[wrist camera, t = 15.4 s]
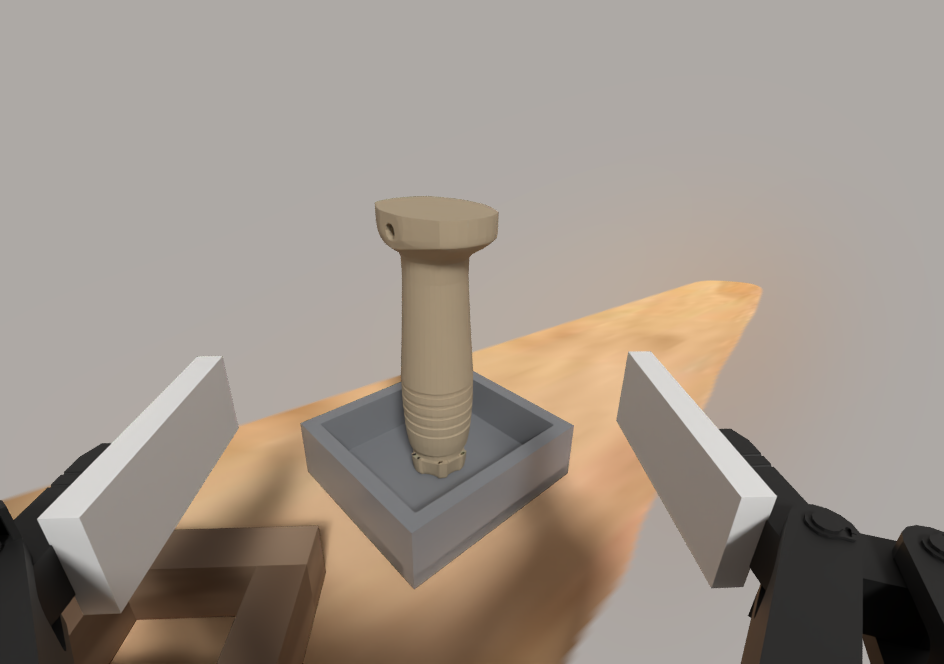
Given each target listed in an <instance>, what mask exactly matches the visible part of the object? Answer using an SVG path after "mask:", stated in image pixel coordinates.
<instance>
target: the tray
mask: <svg viewBox="0 0 944 664" xmlns="http://www.w3.org/2000/svg"><path fill="white" fill-rule="evenodd" d="M300 424H301V430H302V437H303V443H304V449H305V456H306V462H307V468H308V472H309V473H310V474H311V475H312V476H313V477H314V479H315V480H316V481H317V482H318V483H319V484H320V485H321V486H322V487H323V489H324V490H325V491H326V492H327V493H328V494H329V495H330V496H331V497H332V499H333V500H334V501H335V502H336V503H337V504H338V505H339V506H340V507H341V509H342V510H343V511H344V512H345V513H346V514H347V515H348V516H349V517H350V519H351V520H352V521H353V522H354V523H355V524H356V525H357V526H358V527H359V529H360V530H361V531H362V532H363V533H364V534H365V535H366V536H367V537H368V539H369V540H370V541H371V542H372V543H373V544H374V545H375V546H376V547H377V549H378V550H379V551H380V552H381V553H382V554H383V555H384V556H385V557H386V559H387V560H388V561H389V562H390V563H391V564H392V565H393V566H394V567H395V569H396V570H397V571H398V572H399V573H400V574H401V575H402V576H403V577H404V579H405V580H406V581H407V582H408V583H409V584H410V585H411V586H412V587H413V589H415V588H417V587H418V586H419V585H421V584H422V583H423V582H425V581H426V580H427V579H428V578H430V577H431V576H432V575H434V574H435V573H436V572H438V571H439V570H440V569H442V568H443V567H444V566H446V565H447V564H448V563H450V562H451V561H452V560H454V559H455V558H456V557H458V556H459V555H460V554H461V553H463V552H464V551H465V550H467V549H468V548H469V547H471V546H472V545H473V544H475V543H476V542H477V541H479V540H480V539H481V538H483V537H484V536H485V535H487V534H488V533H489V532H491V531H492V530H493V529H494V528H496V527H497V526H498V525H500V524H501V523H502V522H504V521H505V520H506V519H508V518H509V517H510V516H512V515H513V514H514V513H516V512H517V511H518V510H520V509H521V508H522V507H524V506H525V505H526V504H528V503H529V502H530V501H531V500H533V499H534V498H535V497H537V496H538V495H539V494H541V493H542V492H543V491H545V490H546V489H547V488H549V487H550V486H551V485H553V484H554V483H555V482H557V481H558V480H559V479H561V478H562V477H563V476H564V475H566V474H567V473H568V466H569V459H570V451H571V443H572V436H573V428H574V425H572V424H570V423H568V422H566V421H564V420H562V419H561V418H559V417H557V416H555V415H553V414H551V413H550V412H548V411H546V410H544V409H542V408H540V407H538V406H537V405H535V404H533V403H531V402H529V401H527V400H526V399H524V398H522V397H520V396H518V395H516V394H515V393H513V392H511V391H509V390H507V389H505V388H503V387H502V386H500V385H498V384H496V383H494V382H492V381H491V380H489V379H487V378H485V377H483V376H481V375H479V374H478V373H476V372H474V371H473V400H472V414H471V423H470V430H469V435H468V439H467V442H466V444H465V446H464V449H465V450H466V459H465V463H464V466H463V467H462V469H460V470H457V471H454V472H452V473H450V474H449V475H448V476H447V477H446V478H438V477H436V476H434V475H431V474H421V473H419V472H418V471H417V470H416V469H415V467H414V464H413V460H412V454H411V453H413V448H412V447H411V445H410V442H409V438H408V434H407V430H406V424H405V417H404V409H403V400H402V384H401V382H399V383H397V384H395V385H392V386H390V387H387V388H385V389H382V390H380V391H378V392H375V393H373V394H370V395H368V396H365V397H363V398H361V399H358V400H356V401H353V402H351V403H349V404H346V405H344V406H341V407H339V408H336V409H334V410H332V411H329V412H327V413H324V414H322V415H319V416H317V417H315V418H312V419H310V420H307V421H305V422H302V423H300Z"/></svg>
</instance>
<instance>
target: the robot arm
mask: <svg viewBox="0 0 944 664" xmlns="http://www.w3.org/2000/svg"><path fill="white" fill-rule="evenodd" d="M616 421H617V422H618V424H619V426H620V428H621V429H622V431H623V433H624V435H625V437H626V438H627V440H628V442H629V444H630V445H631V447H632V449H633V451H634V452H635V454H636V456H637V458H638V460H639V461H640V463H641V465H642V467H643V468H644V470H645V472H646V474H647V475H648V477H649V479H650V481H651V482H652V484H653V486H654V488H655V490H656V491H657V493H658V495H659V496H660V498H661V500H662V502H663V504H664V505H665V507H666V509H667V511H668V512H669V514H670V516H671V518H672V520H673V521H674V523H675V525H676V527H677V528H678V530H679V532H680V534H681V535H682V537H683V539H684V541H685V542H686V544H687V546H688V548H689V550H690V551H691V553H692V555H693V557H694V558H695V560H696V562H697V564H698V565H699V567H700V569H701V571H702V573H703V574H704V576H705V578H706V579H707V581H708V583H709V585H710V587H711V588H731V587H743V586H744V583H745V581H746V578H747V576H748V573H749V570H750V568H751V570H752V571H753V573H754V574H755V576H756V577H757V579H758V580H759V582H760V583H761V584H760V587H759V589H758V592H757V594H756V597H755V600H754V602H753V605H752V607H751V610H750V612H749V615H748V616H749V617H751V621H750V626H749V630H748V635H747V639H746V643H745V647H744V652H743V656H742V661H741V664H862V638H863V641H864V644H865V647H866V651H867V654H868V657H869V660H870V663H871V664H944V532H942V531H939V530H936V529H934V528H931V527H924V526H918V525H915V526H909V527H906V528H905V529H904V530H903V531H902V533H901V535H900V537H899V538H898V540H897V541H894V540H889V539H885V538H879V537H875V536H870V535H865V534H861V533H859V531H857V529H856V528H855V527H854V526H853V524H852V523H850V522H849V521H847V520H846V519H845V518H843V517H842V516H841V515H839V514H837V513H835V512H833V511H831V510H829V509H827V508H823V507H819V506H816V505H813V504H812V505H811V504H808V503H807V502H806V501H805V500H804V499H803V498H802V497H801V496H800V495H799V494H798V492H797V491H796V490H795V489H794V488H793V487H792V486H791V485H790V484H789V483H788V482H787V481H786V480H785V479H784V477H783V476H782V475H780V473H779V472H778V471H777V470H776V469H775V468H774V467H771V464H770V462H769V461H768V460H767V459H766V458H765V457H764V456H761V453H760V452H759V451H758V450H757V449H756V447H755V446H754V445H753V444H752V443H751V442H750V441H749V440H748V439H746V438H744V437H743V436H741V435H740V434H738V433H737V432H735V431H733V430H732V429H718V428H717V427H716V426H715V425H714V424H713V422H712V421H711V420H710V419H709V418H708V417H707V416H706V414H705V413H704V412H703V411H702V410H701V409H700V407H699V406H698V405H697V404H696V403H695V402H694V401H693V399H692V398H691V397H690V396H689V395H688V394H687V393H686V391H685V390H684V389H683V388H682V387H681V386H680V384H679V383H678V382H677V381H676V380H675V379H674V378H673V376H672V375H671V374H670V373H669V372H668V371H667V370H666V368H665V367H664V366H663V365H662V364H661V363H660V362H659V360H658V359H657V358H656V357H655V356H654V355H653V353H652V352H651V351H650V352H628V357H627V362H626V368H625V374H624V380H623V385H622V391H621V397H620V403H619V408H618V414H617V420H616ZM238 428H239V427H238V423H237V418H236V413H235V409H234V405H233V401H232V396H231V391H230V387H229V382H228V378H227V373H226V369H225V365H224V360H223V356H199V357H197V358H196V359H195V360H194V361H193V362H192V363H191V364H190V365H189V366H188V367H187V368H186V369H185V370H184V371H183V372H182V373H181V374H180V375H179V376H178V377H177V378H176V379H175V380H174V381H173V382H172V383H171V384H170V385H169V386H168V387H167V388H166V389H165V390H164V391H163V392H162V393H161V394H160V395H159V396H158V397H157V398H156V399H155V400H154V401H153V402H152V403H151V404H150V405H149V406H148V407H147V408H146V409H145V411H143V412H142V413H141V414H140V415H139V416H138V417H137V418H136V419H135V420H134V421H133V422H132V423H131V424H130V425H129V426H128V427H127V428H126V429H125V430H124V431H123V432H122V433H121V434H120V435H119V436H118V438H117V439H116V440H115V441H114V442H113V443H102V444H100V445H99V446H97V447H95V448H94V449H92V450H90V451H89V452H87V453H85V454H84V455H82V456H80V457H79V458H78V459H77V460H76V461H75V462H74V463H73V464H72V465H71V466H70V467H69V468H68V469H67V470H66V471H65V472H64V475H60V476H59V477H58V478H57V479H56V480H55V481H54V482H53V483H52V484H51V487H50V488H47V489H46V490H45V491H44V492H43V493H42V494H41V495H39V496H38V497H37V498H36V499H35V500H34V501H33V502H32V503H31V504H30V505H29V506H28V507H27V508H26V509H25V510H24V511H23V512H22V513H21V514H20V515H19V516H18V517H17V518H16V519H14V520H13V519H12V517H11V515H10V513H9V511H8V509H7V507H6V505H5V504H4V503H3V501H1V500H0V664H74V659H73V654H72V649H71V644H70V638H69V633H68V628H67V624H66V622H65V620H64V618H63V616H62V612H63V611H64V610H65V608H66V607H67V606H68V604H69V603H70V602H71V600H72V599H73V598H74V596H75V598H76V600H77V602H78V604H79V607H80V609H81V611H82V613H83V615H93V614H117V613H121V612H122V611H123V609H124V608H125V606H126V605H127V603H128V601H129V600H130V598H131V597H132V595H133V594H134V592H135V590H136V589H137V587H138V586H139V584H140V583H141V581H142V579H143V578H144V576H145V575H146V573H147V572H148V570H149V568H150V567H151V565H152V564H153V562H154V561H155V559H156V557H157V556H158V554H159V553H160V551H161V549H162V548H163V546H164V545H165V543H166V542H167V540H168V538H169V537H170V535H171V534H172V532H173V531H174V529H175V527H176V526H177V524H178V523H179V521H180V520H181V518H182V516H183V515H184V513H185V512H186V510H187V509H188V507H189V505H190V504H191V502H192V501H193V499H194V498H195V496H196V494H197V493H198V491H199V490H200V488H201V487H202V485H203V483H204V482H205V480H206V479H207V477H208V476H209V474H210V472H211V471H212V469H213V468H214V466H215V465H216V463H217V461H218V460H219V458H220V457H221V455H222V454H223V452H224V450H225V449H226V447H227V446H228V444H229V443H230V441H231V439H232V438H233V436H234V435H235V433H236V432H237V430H238Z"/></svg>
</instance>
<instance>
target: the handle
mask: <svg viewBox="0 0 944 664" xmlns="http://www.w3.org/2000/svg"><path fill="white" fill-rule="evenodd" d="M375 213H376V222H377V228H378V232H379V234H380V236H381V238H382V240H383V241H384V242H385V243H386V244H387V245H388V246H389V247H391V248H392V249H394V250H396V251H397V252H399V254H400V256H401V267H402V350H401V352H402V353H401V384H402V400H403V409H404V417H405V424H406V430H407V434H408V438H409V442H410V445H411V447H412V448H413V453H411V454H412V460H413V464H414V467H415V469H416V470H417V471H418V472H419V473H421V474H431V475H434V476H436V477H438V478H446V477H447V476H448V475H449V474H450V473H452V472H454V471H457V470H460V469H462V467H463V466H464V463H465V459H466V450H465V449H464V446H465V444H466V442H467V439H468V435H469V430H470V423H471V414H472V400H473V364H472V346H471V328H470V327H471V326H470V304H469V281H468V280H469V278H468V274H469V273H468V272H469V257H470V256H471V255H472V254H473V253H475V252H477V251H479V250H481V249H483V248H484V247H486V246H488V245H489V244H490V243H492V242H493V241H494V240H495V239H496V238H497V233H498V212H497V211H496V210H494V209H493V208H491V207H489V206H487V205H484V204H480V203H476V202H471V201H466V200H461V199H454V198H444V197H432V196H417V197H416V196H414V197H401V198H392V199H386V200H381V201H377V202H375Z"/></svg>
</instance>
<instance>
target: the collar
mask: <svg viewBox="0 0 944 664" xmlns="http://www.w3.org/2000/svg"><path fill="white" fill-rule="evenodd" d="M325 573H326V571H325V565H324V559H323V552H322V546H321V540H320V533H319V527H318V526H291V527H256V528H220V529H185V530H174V531H173V532H172V534H171V535H170V537H169V538H168V540H167V542H166V543H165V545H164V546H163V548H162V549H161V551H160V553H159V554H158V556H157V557H156V559H155V561H154V562H153V564H152V565H151V567H150V568H149V570H148V572H147V573H146V575H145V576H144V578H143V579H142V581H141V583H140V584H139V586H138V587H137V589H136V590H135V592H134V594H133V595H132V597H131V598H130V600H129V601H128V603H127V605H126V606H125V608H124V609H123V611H122V612H121V613H117V614H93V615H83V613H82V611H81V609H80V607H79V604H78V602H77V600H76V598H75V596H74V598H73V599H72V600H71V602H70V603H69V604H68V606H67V607H66V608H65V610H64V611H63V612H62V616H63V618H64V620H65V622H66V624H67V628H68V633H69V638H70V644H71V649H72V654H73V659H74V664H110V662H111V661H112V659H113V657H114V656H115V654H116V652H117V651H118V649H119V647H120V646H121V644H122V642H123V641H124V639H125V637H126V636H127V634H128V632H129V631H130V629H131V627H132V626H133V624H134V622H135V621H136V620H144V619H170V618H196V617H222V616H236V617H235V620H234V622H233V625H232V627H231V629H230V632H229V634H228V637H227V639H226V642H225V644H224V647H223V649H222V651H221V654H220V656H219V659H218V661H217V664H303V660H304V656H305V652H306V648H307V644H308V640H309V636H310V632H311V628H312V624H313V621H314V617H315V613H316V609H317V605H318V601H319V597H320V593H321V589H322V585H323V581H324V577H325Z"/></svg>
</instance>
